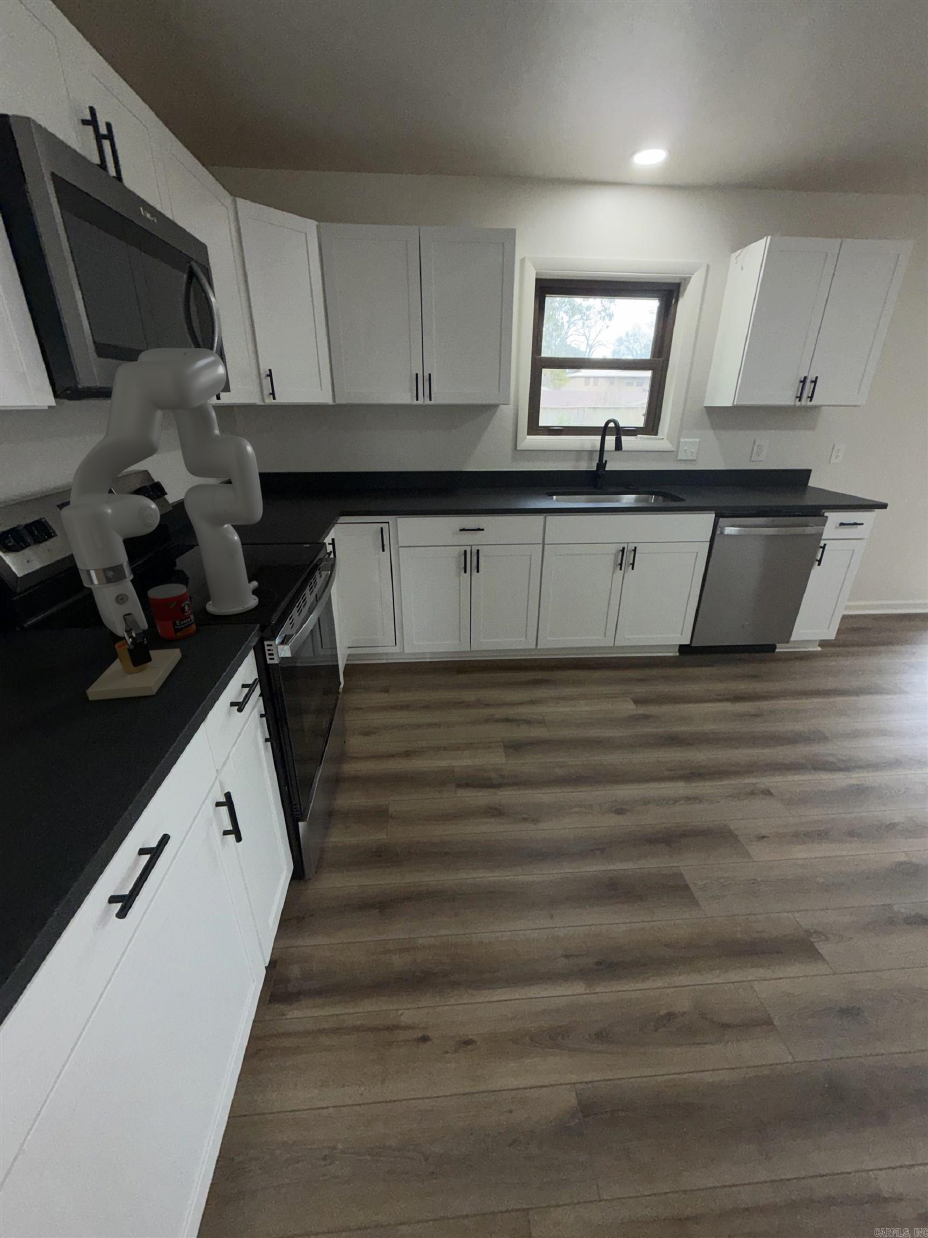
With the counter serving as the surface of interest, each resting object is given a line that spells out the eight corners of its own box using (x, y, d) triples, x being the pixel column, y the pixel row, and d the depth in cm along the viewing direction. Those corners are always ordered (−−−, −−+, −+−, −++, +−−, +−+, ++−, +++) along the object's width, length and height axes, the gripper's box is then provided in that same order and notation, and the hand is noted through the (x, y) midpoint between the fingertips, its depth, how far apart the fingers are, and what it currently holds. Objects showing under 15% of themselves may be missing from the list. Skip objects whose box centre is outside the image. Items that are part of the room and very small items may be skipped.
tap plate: (125, 660, 104) (122, 651, 103) (181, 656, 106) (179, 647, 105) (89, 700, 91) (85, 690, 90) (154, 694, 92) (151, 684, 91)
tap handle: (137, 660, 100) (129, 635, 98) (154, 664, 99) (146, 638, 96) (117, 671, 96) (108, 644, 94) (134, 675, 95) (126, 648, 92)
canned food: (181, 641, 112) (169, 596, 107) (151, 638, 114) (138, 594, 109) (204, 627, 119) (194, 584, 114) (175, 624, 120) (164, 582, 116)
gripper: (147, 578, 87) (172, 662, 94) (113, 558, 97) (137, 636, 104) (98, 590, 82) (127, 678, 89) (67, 568, 92) (96, 649, 99)
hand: (133, 655), depth 96 cm, fingers open, 9 cm apart
